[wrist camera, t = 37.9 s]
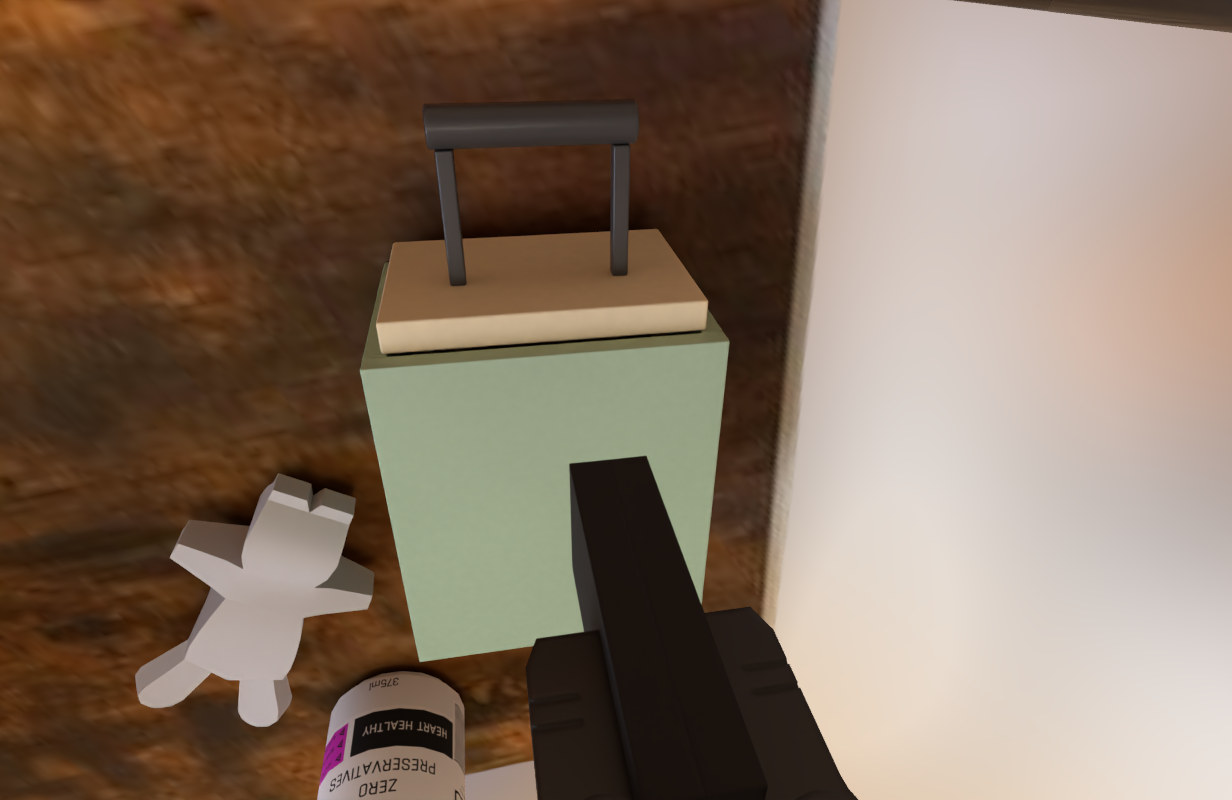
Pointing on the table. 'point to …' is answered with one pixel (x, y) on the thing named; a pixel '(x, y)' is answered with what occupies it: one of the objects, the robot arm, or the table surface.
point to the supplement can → (396, 741)
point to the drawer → (534, 250)
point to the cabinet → (531, 469)
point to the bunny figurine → (260, 597)
